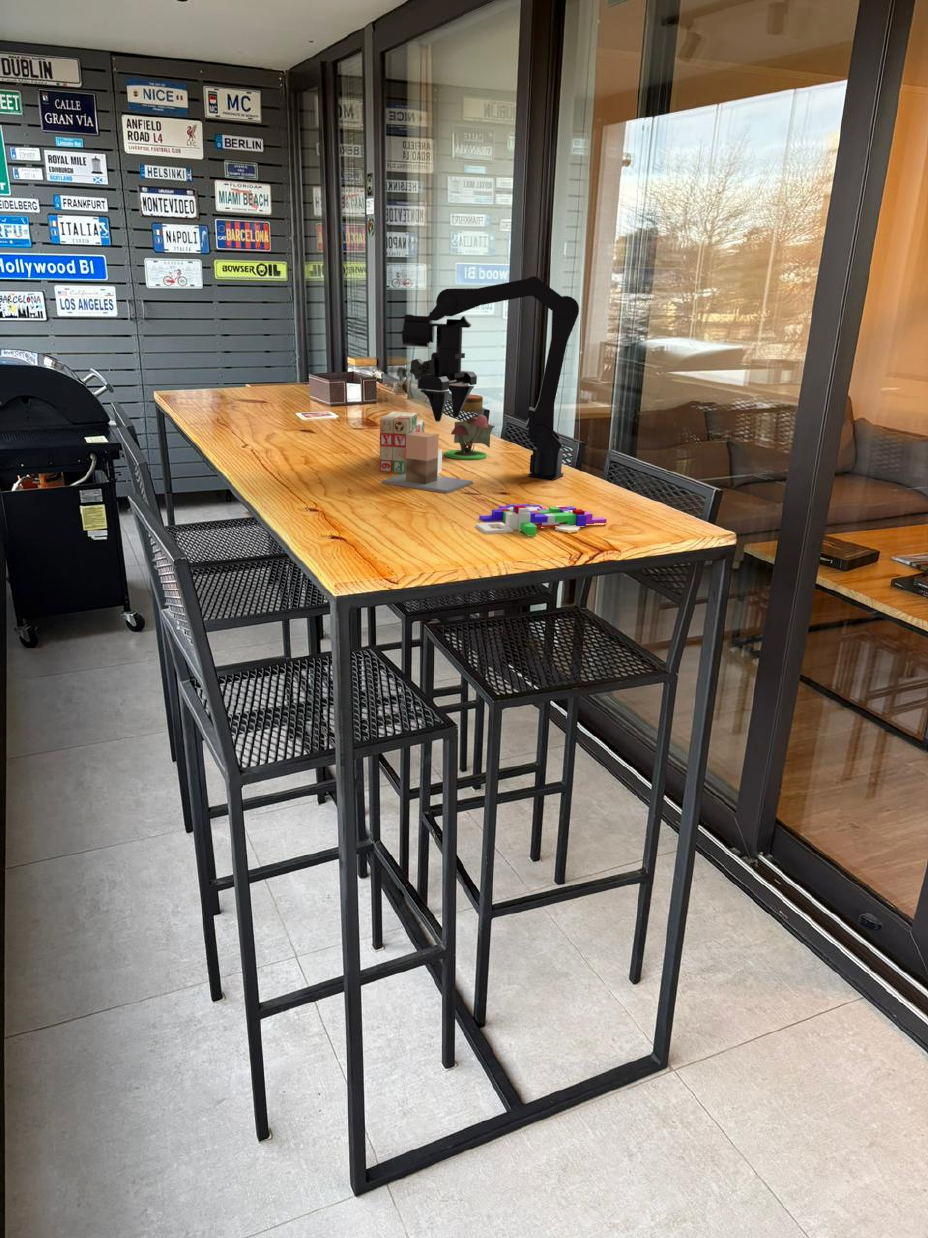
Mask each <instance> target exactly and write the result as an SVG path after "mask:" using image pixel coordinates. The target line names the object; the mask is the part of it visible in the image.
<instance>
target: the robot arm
mask: <svg viewBox="0 0 928 1238" xmlns="http://www.w3.org/2000/svg"><path fill="white" fill-rule="evenodd" d="M524 297H526V298H527V297H533V298H534V299H536V300H537V301H538V302H539V303H541V304H543V305H544V306H545V307H546V308H548V309H549V310H551V332H550V336H551V337H550V342H549V347H548V348H549V349H548V353H547V357H546V362H545V368H544V372H543V377H542V383H541V387H540V391H539V398H538V401H537V403H536V406H535V408H534V407H532V406H529V408H528V419H527V420H526V423H525V429H528V430H527V435H528V438H529V440H530V441H531V442H532V443H534V445H536V447H534V448H532V453H531V454H530V459H529V473H528V475H527V476H528V477H534V478H540V479H545V480H557V479H558V478H562V477H563V476H564V475H565V473H564V472H562V465H563V456H564V455H563V454H564V450H563V449H561V447H562V438H561V437H560V436H559V435H558V433H557V432H556V431H555V430H554V429H555V428H554V425H555V424H554V423H555V402H556V399H557V398H556V397H557V391H558V387H559V383H560V377H561V375H562V374H561V373H562V370H563V363H564V358H565V354H566V349H567V346H568V341H569V338H570V336H571V334H572V332H573V329H574V326H575V325H576V321H577V318H578V316H579V313H580V305H579V304H578V302H577V300H576V299H575V298H574V297H572V296H569V295H563V296H562V295H561V294H560V293H558V292H556V290H554V289H553V288H551V287H550V286H549V285H547V284H546V283H545V282H543V281H542V279H541V278H540V277H538V276H536V275H535V276H530V277H528V278H523V279H519V280H514V281H508V282H503V283H498V284H493V285H489V286H484V287H476V288H473V287H469V288H467V287H466V288H464V287H463V288H459V287H457V288H453V287H452V288H445V289H442V290H441V291H439V293H438V294H437V297H436V301H435V302H436V303H435V306H434V308H433V309H432V310H431V311H430V312H429V315H413V314H404V320H403V327H402V331H401V338H402V339H401V340H402V346H403V347H413V348H414V347H415V348H418V347H420V348H429V346H430V343H434V342H435V341H436V342H435V343H436V344H435V352H432V353H431V355H430V356H431V357H430V359H429V360H425V361H423V360H422V359H421V358H415V359H412V360H410V366H409V367H410V369H409V373H410V374H412V375H413V376H414V380H415V381H417V383H416V384H417V387H416V388H417V389H418V390H419V391H420V393H422V394H424V395H425V396H426V397H427V398H428V400H429V404H430V407H431V410H432V413H433V418H434V420H435V422H436V423H437V422H438V423H439V422H441V421H442V417H443V414H444V411H445V408H446V404H447V401H448V397H449V394H451V405H452V415H453V417H454V418H459V416H460V415H461V412H462V411H461V410H462V408H463V406H464V404H465V402H466V400H467V398H468V396H469V394H471V392H472V390H474V388H475V386H476V385H477V382H478V376H477V374H476V373H475V372H474V371H467V370H462V359H466V358H465V357H466V353H465V352H463V351H462V350H463V349H462V348H463V347H462V346H463V328H465V329H466V328H467V329H468V328H469V329H470V328H471V327H472V324H471V323H470V322H469V321H468V320H467V318H466V316H465V315H463V316H461V318H460V319H457V318H455V319H454V318H446V323H433V321H434V322H436V321H440V320H441V319H444V318H445V317H453V316H456V315H459V314H462V313H464V312H467V311H470V310H472V309H475V308H477V307H480V306H484V305H489V304H494V303H499V302H504V301H508V300H515V299H520V298H524ZM435 327H436V340H435ZM434 340H435V341H434ZM474 385H475V386H474Z"/></svg>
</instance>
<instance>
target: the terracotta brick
mask: <svg viewBox="0 0 928 1238" xmlns="http://www.w3.org/2000/svg"><path fill="white" fill-rule="evenodd" d="M439 437H440V435H439V433H430V432H425V431H424V432H415V433H411V434H407V445H406V458H409V459H416V460H424V461H428V460H431V459H435V458H438V450H439V439H440V438H439Z"/></svg>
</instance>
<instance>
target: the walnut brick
mask: <svg viewBox="0 0 928 1238" xmlns="http://www.w3.org/2000/svg"><path fill="white" fill-rule="evenodd" d="M437 471H438V458H435V459H431V460H428V461H424V460H416V459H409V458H406V481H408V482H414V483H421V484H428V483H431V482H434V481H437V476H438V474H437Z"/></svg>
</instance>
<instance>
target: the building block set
mask: <svg viewBox="0 0 928 1238" xmlns="http://www.w3.org/2000/svg"><path fill="white" fill-rule="evenodd" d="M593 515H594V514H593V513H592V512H590V511H588V510H583V509H582V508H581V509H578V508H577V507H575V506H573V505H572V506H571V505H570V506H564V505H555V506H550V507H548V508H546V507H543V506H541V505H539V504H528V503H527V504H526V503H525V504H524V503H523V504H506V505H503V506H499V507H498V509H491V513H490V515H489V514H488V515H478V516H479V517H478V518H479V520H481V522H480V523H475V527H476V528H477V529H478V530H479V531H480V532H482V533H484V534H485V535H489V534H488V533H492V534H505V533H506V534H507V532H512V533H513V531H515V530H517V531H519V532H520V531H524V532H523V533H525V534H526V535H536V536H537V530H538V529H542V528H541V527H555V526H559V527H556V528H555V530H561V531H578V530H579V529H580V530H581V528H580V526H585V527H587V526H586V524H594V523H606V524H607V520H608V519H607V518H605V517H604V516H596V517H595V516H594V517H593ZM500 521H501V522H500ZM502 521H503V522H502ZM572 525H576V526H572ZM537 528H538V529H537ZM580 530H579V531H580ZM579 531H578V532H579ZM525 534H524V535H525ZM526 535H525V536H526Z"/></svg>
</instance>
